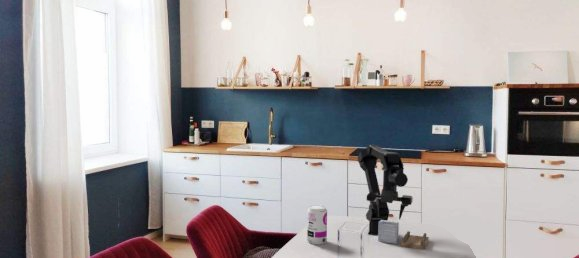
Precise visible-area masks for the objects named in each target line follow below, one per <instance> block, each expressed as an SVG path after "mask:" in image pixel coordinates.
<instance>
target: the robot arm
mask: <svg viewBox="0 0 579 258" xmlns="http://www.w3.org/2000/svg"><path fill="white" fill-rule="evenodd" d="M378 160H380V164H381V165H382V169H381V170H382V171H383V176H382V177H383V179H382V180H383V181H382V189H381V190H380V186H379V181H378V178H377V173H376V166H377V163H378ZM357 162H358V163H359V167H360V169H361V170H362V171H363V172H364V174H365V178H366V184H367V188H368V194H366V201H367V202H369V205H368V210H367V212H366V214H365V218H366V220H368V221H369V224H368V226H369V227H368V233H367V234H368V235H372V236H373V235H375V236H378V227H379V221H381V220H387V221H389V220H388V219H389V215H390V209H389V205H388V204H392V203H393V202H400V203H401V204H400V209H399V216H398V219H399V220H401V218H402V215H403V213H404V211H405V209H406V207H409V206H411V205H412V203H413V201H414V198H413V195H407V194H406V195H405V194H403V195H402V196H399V193H398V191H397V189H398V187H399V188H401V187H405V186H406V185H407V183H408V180H409V179H408V176H407V174H406V173H404V169H405V168H404V163H403V160H402V158H401V156H400V154H399V153H398V152H393V151H388V150H386V149H384V148H382V147H380V146H379V145H378V144H369V145H367V146H366V148H365V149H363V150H361V151H360V152H359V154H358V155H357Z"/></svg>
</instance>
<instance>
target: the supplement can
mask: <svg viewBox="0 0 579 258" xmlns="http://www.w3.org/2000/svg"><path fill="white" fill-rule="evenodd" d="M306 231H307V233H306V235H307V236H306V237H307V238H306V240H307V242H308V243H309V244H311V245H323V244H325V243H326V242H327V241H328V239H327V238H328V237H327V235H328V234H327V233H328V210H327V208H326V206H325V205H324V206H323V205H316V204H315V205H310V206H309V207H308V209H307V230H306Z"/></svg>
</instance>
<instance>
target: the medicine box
mask: <svg viewBox="0 0 579 258" xmlns="http://www.w3.org/2000/svg"><path fill="white" fill-rule="evenodd" d="M399 225H400V224H399V221H396V220H395V221H394V220H381V221H379V227H378V235H377V241H378V242H380V243H389V244H393V245H394V244H397V243H398V242H399V230H400V229H399V227H400V226H399Z"/></svg>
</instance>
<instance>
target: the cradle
mask: <svg viewBox="0 0 579 258" xmlns="http://www.w3.org/2000/svg"><path fill="white" fill-rule="evenodd" d="M429 241H430V240H429V236H427V233H423V235H422V236H421V235H414V234H411V231H408V230H407V232H406V233H405V234H404V235H403V238H402V240H401V242H400V247H404V248H411V249H412V248H413V249H420V250H426V249H427V246H428V244H429Z"/></svg>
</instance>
